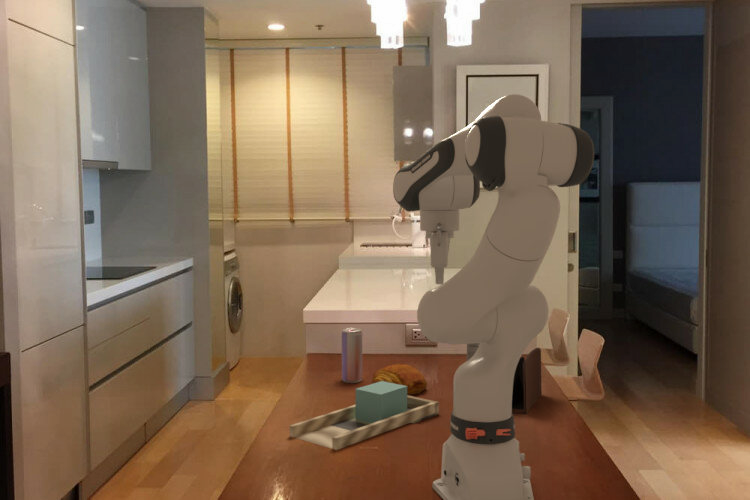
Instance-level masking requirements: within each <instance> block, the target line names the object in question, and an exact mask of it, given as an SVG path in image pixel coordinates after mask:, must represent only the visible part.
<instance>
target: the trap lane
mask: <svg viewBox="0 0 750 500" xmlns="http://www.w3.org/2000/svg"><path fill="white" fill-rule="evenodd" d="M439 412H440V401H435V400H432V399H425V398H423V397H422V398H421V397H417V396H413V395H407V411H406V412H403V413H400V414H397V415H394V416H391V417H389V418H386V419H383V420H380V421H377V422H374V423H368V422H364V421H360V420H356V403H355V404H353V405H350V406H347V407H343V408H340V409H337V410H334V411H330V412H327V413H324V414H322V415H317V416H315V417H311V418H308V419H306V420H302V421H299V422H296V423H293V424H291V425H289V426H288V427H289V428H288V429H289V437H290V438H293V439H297V440H301V441H304V442H307V443H311V444H314V445H317V446H321V447H325V448H327V449H331V450H334V451H338V450H341V449H343V448H345V447H348V446H349V447H350V446H351V445H354V444H357V443H359V442H362V441H365V440H368V439H370V438H372V437H375V436H379V435H381V434H385V432H389V431H392V430H393V429H396V428H399V427H402V426H405V425H407V424H410V423H412V424H416V423H419V422H422V421H424V420H427V419H429V418H433V417H435V416H437V415H440V414H439Z"/></svg>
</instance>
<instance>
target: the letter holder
mask: <svg viewBox="0 0 750 500" xmlns="http://www.w3.org/2000/svg"><path fill="white" fill-rule="evenodd" d="M542 391H543V390H542V350H541V348H540V347H536V348H534V349H532V350H531V351H530V352H529V353H528V355H527V356H526V358H525V356H521V357H520V360H519V362H518V364H517V367H516V370H515V374H514V381H513V393H512V414H513V413H514V414H523V415H526V414H527V413H528V412H529V411H530V409H531V408H532V407H533V405H535V403H536V402H537V401H538V400H539V398H540V397H541V396H542Z"/></svg>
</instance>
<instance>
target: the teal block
mask: <svg viewBox="0 0 750 500" xmlns="http://www.w3.org/2000/svg"><path fill="white" fill-rule="evenodd" d="M355 404H356V420H360V421H364V422H368V423H374V422H377V421H380V420H383V419H386V418H389V417H391V416H394V415H397V414H400V413H403V412H406V411H407V386H404V385H399V384H394V383H389V382H384V381H380V382H377V383H374V384H372V383H371V384H368V385H364V386H360V387H356V388H355Z"/></svg>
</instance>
